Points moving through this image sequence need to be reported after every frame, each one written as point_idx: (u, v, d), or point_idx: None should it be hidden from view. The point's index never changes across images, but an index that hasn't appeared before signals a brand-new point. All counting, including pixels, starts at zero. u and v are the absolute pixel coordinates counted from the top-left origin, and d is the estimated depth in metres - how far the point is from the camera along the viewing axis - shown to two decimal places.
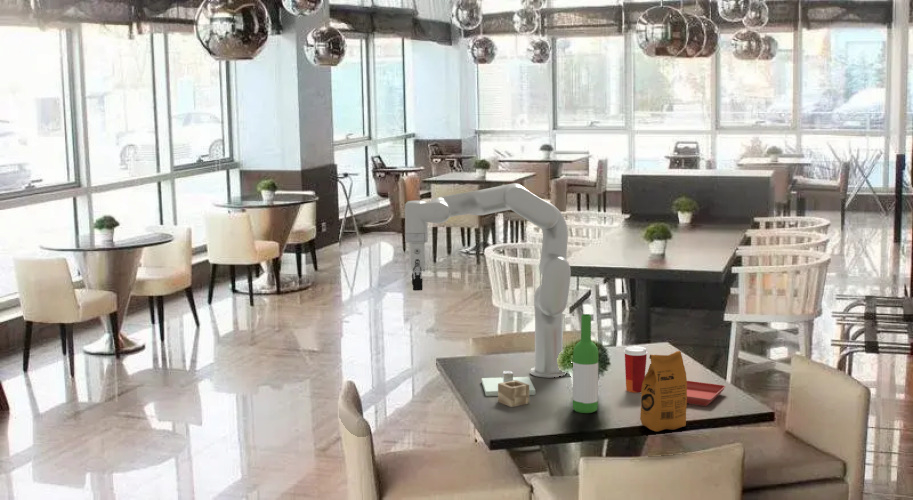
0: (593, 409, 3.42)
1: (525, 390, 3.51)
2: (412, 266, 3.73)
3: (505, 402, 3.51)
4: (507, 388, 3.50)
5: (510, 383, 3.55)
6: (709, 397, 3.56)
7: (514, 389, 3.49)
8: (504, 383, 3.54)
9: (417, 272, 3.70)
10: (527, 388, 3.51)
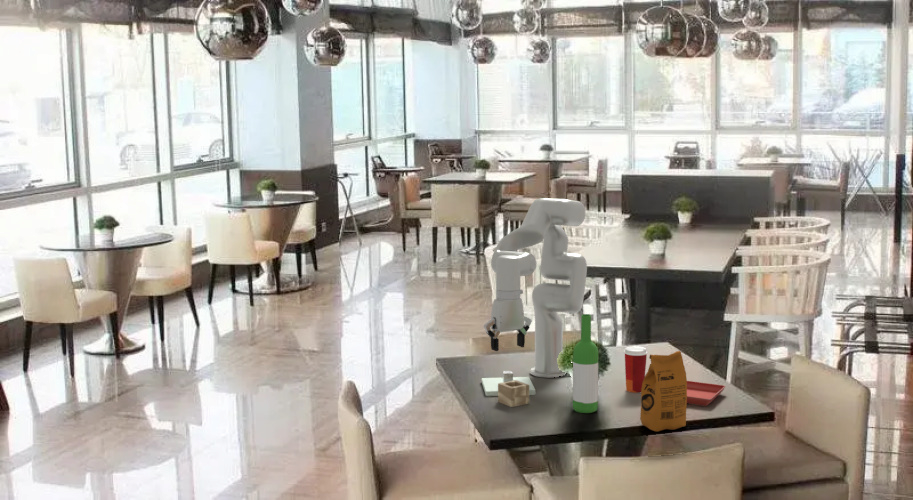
0: (593, 409, 3.42)
1: (525, 390, 3.51)
2: (523, 322, 3.52)
3: (505, 402, 3.51)
4: (507, 388, 3.50)
5: (510, 383, 3.55)
6: (709, 397, 3.56)
7: (514, 389, 3.49)
8: (504, 383, 3.54)
9: None
10: (527, 388, 3.51)
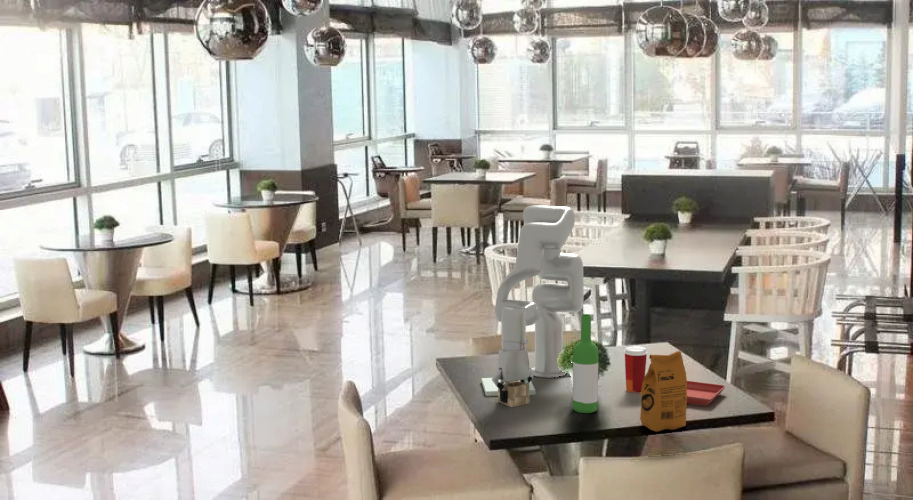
0: (593, 409, 3.42)
1: (525, 390, 3.51)
2: (529, 371, 3.53)
3: None
4: (507, 388, 3.50)
5: (510, 383, 3.55)
6: (709, 397, 3.56)
7: (514, 389, 3.49)
8: None
9: None
10: (527, 388, 3.51)
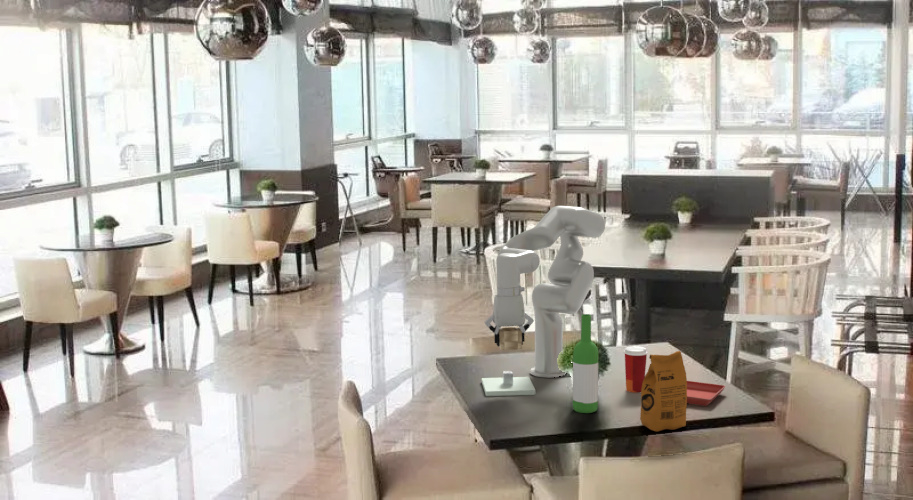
0: (593, 409, 3.42)
1: (517, 336, 3.62)
2: (524, 318, 3.63)
3: None
4: (499, 332, 3.63)
5: (509, 328, 3.67)
6: (709, 397, 3.56)
7: (504, 333, 3.62)
8: (502, 327, 3.67)
9: None
10: (519, 334, 3.62)
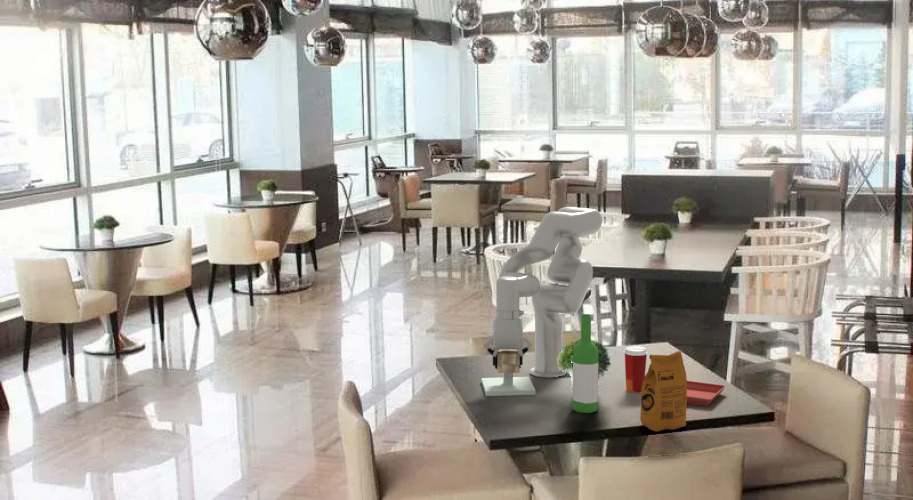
0: (593, 409, 3.42)
1: (515, 359, 3.64)
2: None
3: (497, 368, 3.67)
4: (497, 354, 3.66)
5: (508, 351, 3.70)
6: (709, 397, 3.56)
7: (501, 356, 3.64)
8: (501, 350, 3.69)
9: None
10: (517, 357, 3.64)
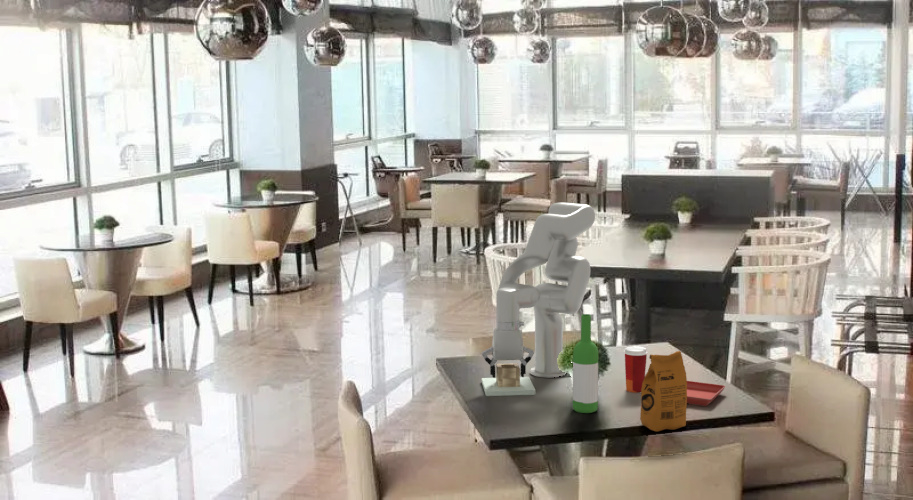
0: (593, 409, 3.42)
1: (515, 373, 3.65)
2: (523, 353, 3.66)
3: (497, 382, 3.68)
4: (497, 369, 3.67)
5: (508, 365, 3.71)
6: (709, 397, 3.56)
7: (502, 370, 3.65)
8: (501, 364, 3.70)
9: None
10: (517, 371, 3.65)
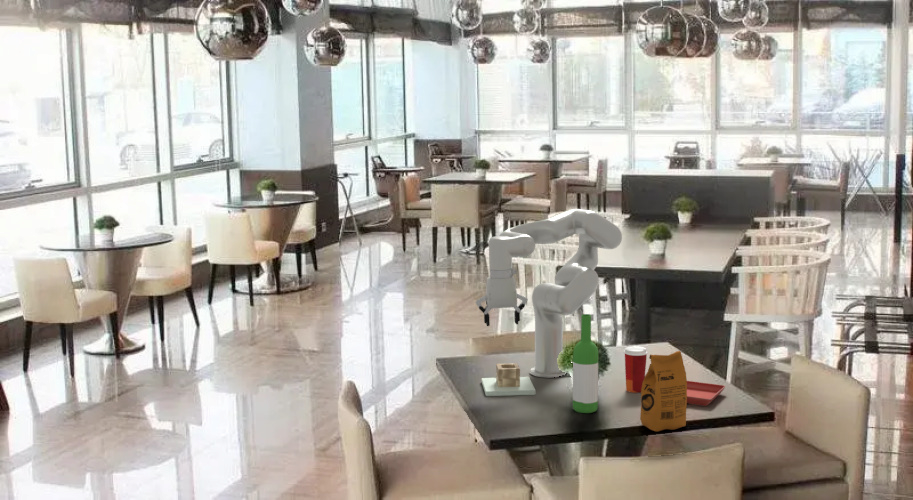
0: (593, 409, 3.42)
1: (515, 373, 3.65)
2: (516, 300, 3.69)
3: (497, 382, 3.68)
4: (497, 369, 3.67)
5: (508, 365, 3.71)
6: (709, 397, 3.56)
7: (502, 370, 3.65)
8: (501, 364, 3.70)
9: None
10: (517, 371, 3.65)
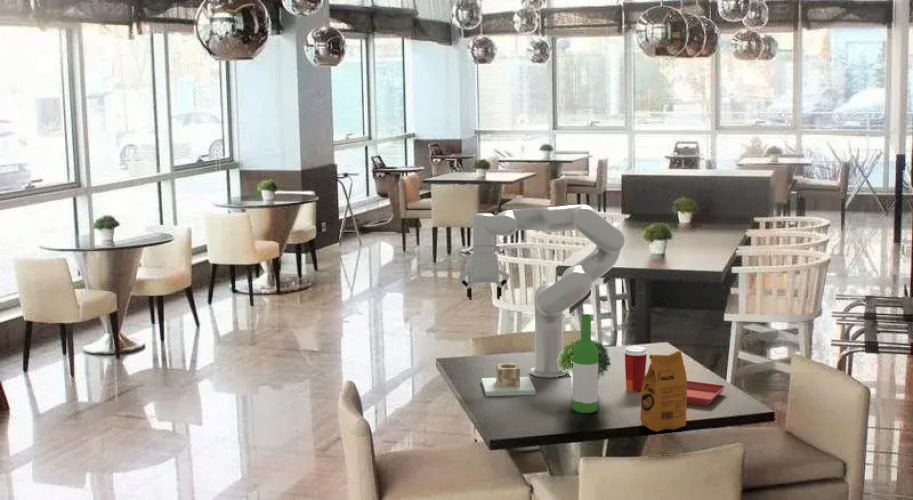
0: (593, 409, 3.42)
1: (515, 373, 3.65)
2: (498, 276, 3.81)
3: (497, 382, 3.68)
4: (497, 369, 3.67)
5: (508, 365, 3.71)
6: (709, 397, 3.56)
7: (502, 370, 3.65)
8: (501, 364, 3.70)
9: None
10: (517, 371, 3.65)
